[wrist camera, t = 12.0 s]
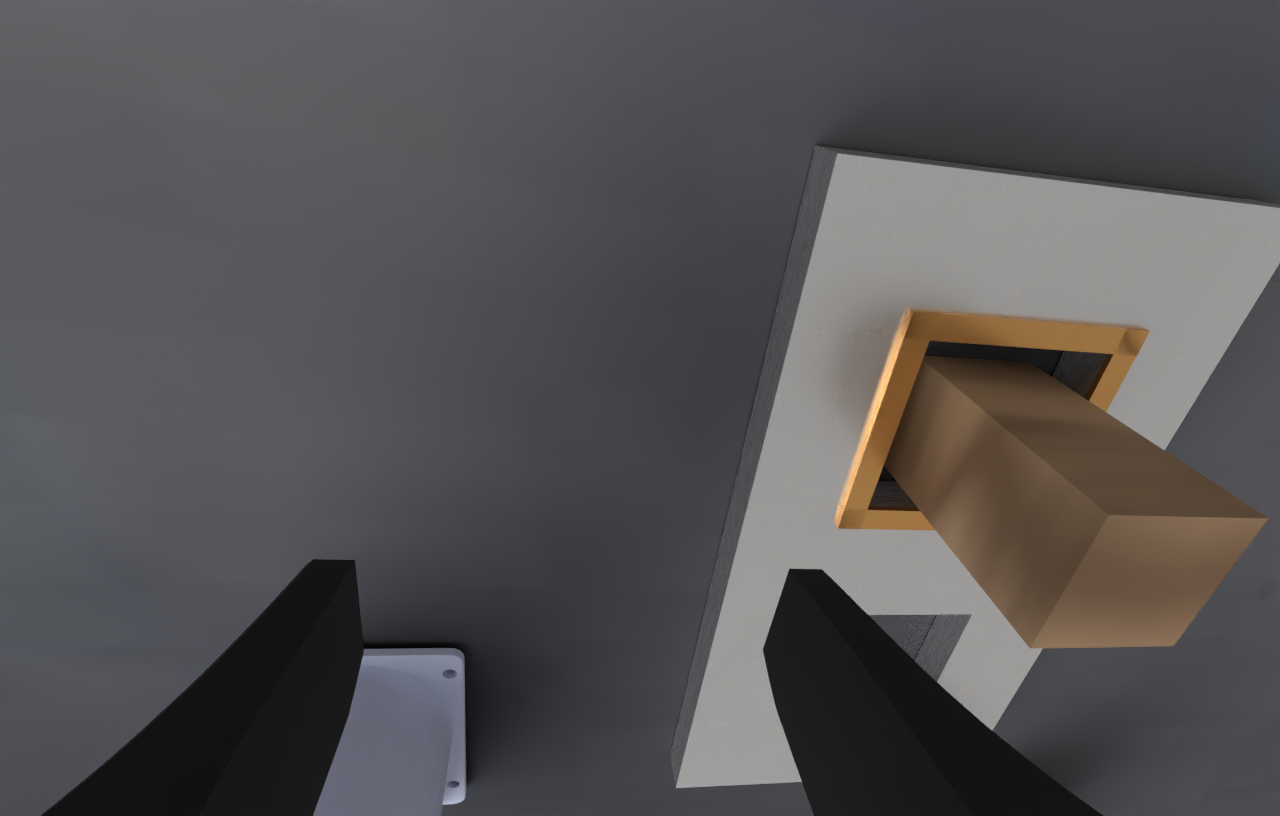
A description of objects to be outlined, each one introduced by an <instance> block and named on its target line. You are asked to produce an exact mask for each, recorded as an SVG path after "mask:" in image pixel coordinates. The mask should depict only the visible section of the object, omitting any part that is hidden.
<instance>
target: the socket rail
mask: <svg viewBox="0 0 1280 816" xmlns="http://www.w3.org/2000/svg"><path fill="white" fill-rule="evenodd" d="M1279 263H1280V205H1277V204H1272V203H1267V202H1263V201H1257V200H1249V199H1241V198H1233V197H1225V196H1217V195H1209V194H1201V193H1193V192H1185V191H1177V190H1169V189H1161V188H1153V187H1145V186H1137V185H1129V184H1121V183H1113V182H1105V181H1097V180H1089V179H1081V178H1073V177H1065V176H1057V175H1049V174H1041V173H1033V172H1025V171H1017V170H1009V169H1001V168H993V167H985V166H977V165H969V164H961V163H953V162H945V161H937V160H929V159H921V158H913V157H905V156H897V155H889V154H881V153H873V152H865V151H857V150H849V149H841V148H833V147H825V146H817V145H815V148H814V152H813V156H812V160H811V165H810V169H809V173H808V177H807V181H806V186H805V190H804V194H803V198H802V202H801V207H800V211H799V215H798V219H797V223H796V228H795V232H794V236H793V240H792V244H791V249H790V253H789V257H788V261H787V266H786V270H785V274H784V278H783V282H782V287H781V291H780V295H779V299H778V303H777V308H776V312H775V316H774V320H773V324H772V329H771V333H770V337H769V341H768V345H767V350H766V354H765V358H764V362H763V366H762V371H761V375H760V379H759V383H758V388H757V392H756V396H755V400H754V404H753V409H752V413H751V417H750V421H749V425H748V430H747V434H746V438H745V442H744V446H743V451H742V455H741V459H740V463H739V467H738V472H737V476H736V480H735V484H734V488H733V493H732V497H731V501H730V505H729V510H728V514H727V518H726V522H725V526H724V531H723V535H722V539H721V543H720V547H719V552H718V556H717V560H716V564H715V568H714V573H713V577H712V581H711V585H710V589H709V594H708V598H707V602H706V606H705V610H704V615H703V619H702V623H701V627H700V632H699V636H698V640H697V644H696V648H695V653H694V657H693V661H692V665H691V669H690V674H689V678H688V682H687V686H686V690H685V695H684V699H683V703H682V707H681V711H680V716H679V720H678V724H677V728H676V732H675V737H674V741H673V745H672V749H671V754H670V757H671V763H672V769H673V775H674V781H675V787H676V788H687V787H707V786H728V785H748V784H768V783H789V782H802V780H801V778H800V775H799V772H798V769H797V767H796V764H795V761H794V758H793V756H792V753H791V750H790V747H789V744H788V741H787V739H786V736H785V733H784V730H783V727H782V724H781V721H780V718H779V716H778V713H777V710H776V706H775V702H774V698H773V694H772V690H771V686H770V682H769V677H768V672H767V667H766V663H765V658H764V653H763V647H764V644H765V641H766V638H767V635H768V632H769V629H770V626H771V623H772V620H773V617H774V614H775V611H776V608H777V605H778V602H779V599H780V596H781V593H782V589H783V586H784V583H785V580H786V577H787V574H788V571H789V569H822V570H823V571H824V572H825V573H826V574H827V575H828V576H830V577H831V578H832V579H833V580H834V581H835V582H836V583H837V584H838V585H839V586H840V587H841V588H842V589H843V590H844V591H845V592H846V593H847V594H848V595H849V596H850V597H851V598H852V599H853V600H854V601H855V602H856V603H857V604H858V605H859V606H860V607H861V608H862V609H863V610H864V611H865V612H866V613H867V614H868V615H936V618H935V620H934V622H933V624H932V626H931V628H930V630H929V632H928V634H927V636H926V638H925V640H924V642H923V645H922V647H921V649H920V651H919V653H918V655H917V657H916V659H915V662H916V663H917V664H918V665H919V666H920V667H921V668H922V669H924V670H925V671H926V672H927V673H928V674H929V675H930V676H931V677H932V678H933V679H934V680H935V681H936V682H937V683H939V684H940V685H941V686H942V687H943V688H944V689H945V690H946V691H947V692H948V693H950V694H951V695H952V696H953V697H954V698H955V699H956V700H957V701H959V702H960V703H961V704H962V705H963V706H964V707H965V708H966V709H968V710H969V711H970V712H971V713H972V714H973V715H974V716H975V717H977V718H978V719H979V720H980V721H981V722H982V723H983V724H985V725H986V726H987V727H988V728H989V729H991V730H993V729H994V727H995V725H996V724H997V722H998V720H999V719H1000V717H1001V716H1002V714H1003V712H1004V711H1005V709H1006V707H1007V706H1008V704H1009V703H1010V701H1011V699H1012V698H1013V696H1014V694H1015V693H1016V691H1017V689H1018V688H1019V686H1020V685H1021V683H1022V681H1023V680H1024V678H1025V676H1026V675H1027V673H1028V672H1029V670H1030V668H1031V667H1032V665H1033V663H1034V662H1035V660H1036V659H1037V657H1038V655H1039V654H1040V652H1041V650H1042V649H1043V648H1029V647H1028V646H1027V644H1026V643H1025V642H1024V641H1023V639H1022V638H1021V637H1020V635H1019V634H1018V633H1017V632H1016V630H1015V629H1014V628H1013V627H1012V625H1011V624H1010V623H1009V622H1008V620H1007V619H1006V618H1005V617H1004V615H1003V614H1002V613H1001V612H1000V610H999V609H998V608H997V607H996V605H995V604H994V603H993V602H992V600H991V599H990V598H989V597H988V595H987V594H986V593H985V592H984V590H983V589H982V588H981V587H980V585H979V584H978V583H977V582H976V580H975V579H974V578H973V577H972V575H971V574H970V573H969V571H968V570H967V569H966V568H965V566H964V565H963V564H962V563H961V561H960V560H959V559H958V558H957V556H956V555H955V554H954V553H953V551H952V550H951V549H950V548H949V546H948V545H947V544H946V543H945V541H944V540H943V539H942V538H941V536H940V535H939V534H938V533H937V531H936V530H935V529H934V528H933V526H932V525H931V524H930V523H929V521H928V520H927V519H926V518H925V516H924V515H923V514H922V512H921V511H920V510H919V509H918V507H917V506H916V505H915V504H914V502H913V501H912V500H911V499H910V497H909V496H908V495H907V494H906V492H905V491H904V490H903V489H902V487H901V486H900V485H899V484H898V482H897V481H878V479H879V477H880V474H881V471H882V469H883V466H884V463H885V460H886V458H887V455H888V452H889V450H890V447H891V444H892V441H893V439H894V436H895V433H896V431H897V428H898V425H899V422H900V420H901V417H902V414H903V412H904V409H905V406H906V403H907V401H908V398H909V395H910V393H911V390H912V387H913V384H914V382H915V379H916V376H917V374H918V371H919V368H920V365H921V363H922V360H923V357H924V355H925V352H926V349H927V347H928V344H929V341H943V342H956V343H970V344H983V345H997V346H1010V347H1024V348H1037V349H1051V350H1064V352H1063V354H1062V356H1061V358H1060V360H1059V362H1058V364H1057V367H1056V369H1055V371H1054V373H1053V375H1052V377H1053V378H1054V379H1056V380H1057V381H1059V382H1060V383H1062V384H1064V385H1065V386H1067V387H1068V388H1070V389H1071V390H1073V391H1074V392H1076V393H1077V394H1079V395H1080V396H1082V397H1083V398H1085V399H1086V400H1088V401H1090V402H1091V403H1093V404H1094V405H1096V406H1097V407H1099V408H1100V409H1102V410H1103V411H1105V412H1106V413H1108V414H1109V415H1111V416H1112V417H1114V418H1116V419H1117V420H1119V421H1120V422H1122V423H1123V424H1125V425H1126V426H1128V427H1129V428H1131V429H1132V430H1134V431H1135V432H1137V433H1138V434H1140V435H1142V436H1143V437H1145V438H1146V439H1148V440H1149V441H1151V442H1152V443H1154V444H1155V445H1157V446H1158V447H1160V448H1161V449H1163V450H1165V449H1166V447H1167V445H1168V444H1169V442H1170V441H1171V439H1172V437H1173V436H1174V434H1175V432H1176V431H1177V429H1178V428H1179V426H1180V424H1181V423H1182V421H1183V419H1184V418H1185V416H1186V415H1187V413H1188V411H1189V410H1190V408H1191V406H1192V405H1193V403H1194V402H1195V400H1196V398H1197V397H1198V395H1199V393H1200V392H1201V390H1202V389H1203V387H1204V385H1205V384H1206V382H1207V380H1208V379H1209V377H1210V375H1211V374H1212V372H1213V371H1214V369H1215V367H1216V366H1217V364H1218V362H1219V361H1220V359H1221V358H1222V356H1223V354H1224V353H1225V351H1226V349H1227V348H1228V346H1229V345H1230V343H1231V341H1232V340H1233V338H1234V336H1235V335H1236V333H1237V332H1238V330H1239V328H1240V327H1241V325H1242V323H1243V322H1244V320H1245V319H1246V317H1247V315H1248V314H1249V312H1250V310H1251V309H1252V307H1253V306H1254V304H1255V302H1256V301H1257V299H1258V297H1259V296H1260V294H1261V293H1262V291H1263V289H1264V288H1265V286H1266V284H1267V283H1268V281H1269V280H1270V278H1271V276H1272V275H1273V273H1274V271H1275V270H1276V268H1277V266H1278V265H1279Z"/></svg>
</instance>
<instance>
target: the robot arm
mask: <svg viewBox="0 0 1280 816" xmlns="http://www.w3.org/2000/svg"><path fill="white" fill-rule="evenodd" d="M763 653H764V658H765V663H766V667H767V672H768V677H769V682H770V686H771V690H772V694H773V698H774V702H775V706H776V710H777V713H778V716H779V718H780V721H781V724H782V727H783V730H784V733H785V736H786V739H787V741H788V744H789V747H790V750H791V753H792V756H793V758H794V761H795V764H796V767H797V769H798V772H799V775H800V778H801V780H802V783H803V786H804V789H805V792H806V794H807V797H808V800H809V803H810V805H811V808H812V811H813V814H814V816H1103V815H1102V814H1100V813H1099V812H1097V811H1096V810H1095V809H1093V808H1092V807H1090V806H1089V805H1087V804H1086V803H1085V802H1083V801H1082V800H1080V799H1079V798H1078V797H1076V796H1075V795H1074V794H1072V793H1071V792H1069V791H1068V790H1067V789H1065V788H1064V787H1063V786H1061V785H1060V784H1059V783H1057V782H1056V781H1055V780H1053V779H1052V778H1051V777H1049V776H1048V775H1047V774H1045V773H1044V772H1043V771H1042V770H1040V769H1039V768H1038V767H1037V766H1035V765H1034V764H1033V763H1032V762H1030V761H1029V760H1028V759H1027V758H1025V757H1024V756H1023V755H1021V754H1020V753H1019V752H1018V751H1016V750H1015V749H1014V748H1013V747H1011V746H1010V745H1009V744H1008V743H1006V742H1005V741H1004V740H1003V739H1001V738H1000V737H999V736H998V735H997V734H995V733H994V732H993V731H992V730H991V729H989V728H988V727H987V726H986V725H985V724H983V723H982V722H981V721H980V720H979V719H978V718H977V717H975V716H974V715H973V714H972V713H971V712H970V711H969V710H968V709H966V708H965V707H964V706H963V705H962V704H961V703H960V702H959V701H957V700H956V699H955V698H954V697H953V696H952V695H951V694H950V693H948V692H947V691H946V690H945V689H944V688H943V687H942V686H941V685H940V684H939V683H937V682H936V681H935V680H934V679H933V678H932V677H931V676H930V675H929V674H928V673H927V672H926V671H925V670H924V669H922V668H921V667H920V666H919V665H918V664H917V663H916V662H915V661H914V660H913V659H912V658H911V657H910V656H909V655H908V654H907V653H906V652H905V651H904V650H903V649H902V648H901V647H900V646H899V645H898V644H897V643H896V642H895V641H894V640H893V639H892V638H891V637H890V636H889V635H888V634H887V633H886V632H884V631H883V630H882V628H881V627H880V626H879V625H878V624H877V623H876V622H875V621H874V620H873V619H872V618H871V617H870V616H869V615H868V614H867V613H866V612H865V611H864V610H863V609H862V608H861V607H860V606H859V605H858V604H857V603H856V602H855V601H854V600H853V599H852V598H851V597H850V596H849V595H848V594H847V593H846V592H845V591H844V590H843V589H842V588H841V587H840V586H839V585H838V584H837V583H836V582H835V581H834V580H833V579H832V578H831V577H830V576H828V575H827V574H826V573H825V572H824V571H823V570H822V569H789V571H788V574H787V577H786V580H785V583H784V586H783V589H782V593H781V596H780V599H779V602H778V605H777V608H776V611H775V614H774V617H773V620H772V623H771V626H770V629H769V632H768V635H767V638H766V641H765V644H764V647H763ZM449 669H451V670H449ZM465 796H466V726H465V657H464V654H463V653H462V652H461V651H460V650H458V649H456V648H402V649H364V647H363V637H362V627H361V617H360V607H359V597H358V587H357V576H356V566H355V560H317V559H313V560H312V561H311V562H309V563H308V564H307V565H306V566H305V567H304V568H303V569H302V570H301V571H300V572H299V573H298V575H297V576H296V577H295V578H294V579H293V580H292V581H291V582H290V583H289V584H288V586H287V587H286V588H285V589H284V590H283V591H282V592H281V593H280V594H279V595H278V596H277V598H276V599H275V600H274V601H273V602H272V603H271V604H270V605H269V606H268V607H267V608H266V609H265V610H264V611H263V613H262V614H261V615H260V616H259V617H258V618H257V619H256V620H255V621H254V622H253V623H252V624H251V625H250V626H249V627H248V628H247V629H246V630H245V631H244V633H243V634H242V635H241V636H240V637H239V638H238V639H237V640H236V641H235V642H234V643H233V644H232V645H231V646H230V647H229V648H228V649H227V650H226V651H225V652H224V653H223V654H222V655H221V656H220V657H219V658H218V659H217V660H216V661H215V662H214V663H213V664H212V665H211V666H210V667H209V668H208V669H207V670H206V671H205V672H204V673H203V674H202V675H201V676H200V677H199V678H198V679H196V680H195V681H194V682H193V683H192V684H191V685H190V686H189V687H188V688H187V689H186V690H185V691H184V692H183V693H182V694H181V695H179V696H178V697H177V698H176V699H175V700H174V701H173V702H172V703H171V704H170V705H169V706H168V707H166V708H165V709H164V710H163V711H162V712H161V713H160V714H159V715H158V716H157V717H156V718H155V719H154V720H152V721H151V722H150V723H149V724H148V725H147V726H146V727H145V728H144V729H143V730H142V731H141V732H139V733H138V734H137V735H136V736H135V737H134V738H133V739H132V740H130V741H129V742H128V743H127V744H126V745H125V746H124V747H122V748H121V749H120V750H119V751H118V752H117V753H116V754H114V755H113V756H112V757H111V758H110V759H109V760H107V761H106V762H105V763H104V764H103V765H102V766H100V767H99V768H98V769H97V770H96V771H95V772H93V773H92V774H91V775H90V776H89V777H87V778H86V779H85V780H84V781H83V782H81V783H80V784H79V785H78V786H76V787H75V788H74V789H73V790H72V791H70V792H69V793H68V794H67V795H65V796H64V797H63V798H62V799H61V800H59V801H58V802H57V803H56V804H55V805H53V806H52V807H51V808H50V809H48V810H47V811H46V812H45V813H43V814H42V815H41V816H441V812H442V805H443V804H456V803H459V802H462V801H463V800H464V799H465Z"/></svg>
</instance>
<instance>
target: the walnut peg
mask: <svg viewBox="0 0 1280 816" xmlns="http://www.w3.org/2000/svg"><path fill="white" fill-rule="evenodd" d="M884 466H885V467H886V469H887V470H888V471H889V472H890V474H891V475H892V476H893V477H894V479H895V480H896V481H897V482H898V484H899V485H900V486H901V487H902V489H903V490H904V491H905V492H906V494H907V495H908V496H909V497H910V499H911V500H912V501H913V502H914V504H915V505H916V506H917V507H918V509H919V510H920V511H921V512H922V514H923V515H924V516H925V518H926V519H927V520H928V521H929V523H930V524H931V525H932V526H933V528H934V529H935V530H936V531H937V533H938V534H939V535H940V536H941V538H942V539H943V540H944V541H945V543H946V544H947V545H948V546H949V548H950V549H951V550H952V551H953V553H954V554H955V555H956V556H957V558H958V559H959V560H960V561H961V563H962V564H963V565H964V566H965V568H966V569H967V570H968V571H969V573H970V574H971V575H972V577H973V578H974V579H975V580H976V582H977V583H978V584H979V585H980V587H981V588H982V589H983V590H984V592H985V593H986V594H987V595H988V597H989V598H990V599H991V600H992V602H993V603H994V604H995V605H996V607H997V608H998V609H999V610H1000V612H1001V613H1002V614H1003V615H1004V617H1005V618H1006V619H1007V620H1008V622H1009V623H1010V624H1011V625H1012V627H1013V628H1014V629H1015V630H1016V632H1017V633H1018V634H1019V635H1020V637H1021V638H1022V639H1023V641H1024V642H1025V643H1026V644H1027V646H1028V647H1029V648H1088V647H1147V646H1174V645H1175V643H1176V642H1177V641H1178V639H1179V638H1180V637H1181V635H1182V634H1183V632H1184V631H1185V630H1186V628H1187V627H1188V626H1189V624H1190V623H1191V622H1192V620H1193V619H1194V618H1195V616H1196V615H1197V614H1198V612H1199V611H1200V610H1201V608H1202V607H1203V606H1204V604H1205V603H1206V602H1207V600H1208V599H1209V598H1210V596H1211V595H1212V594H1213V592H1214V591H1215V590H1216V588H1217V587H1218V586H1219V584H1220V583H1221V582H1222V580H1223V579H1224V578H1225V576H1226V575H1227V574H1228V572H1229V571H1230V570H1231V568H1232V567H1233V565H1234V564H1235V563H1236V561H1237V560H1238V559H1239V557H1240V556H1241V555H1242V553H1243V552H1244V551H1245V549H1246V548H1247V547H1248V545H1249V544H1250V543H1251V541H1252V540H1253V539H1254V537H1255V536H1256V535H1257V533H1258V532H1259V531H1260V529H1261V528H1262V527H1263V525H1264V524H1265V523H1266V521H1267V520H1268V518H1267V517H1265V516H1264V515H1262V514H1261V513H1259V512H1258V511H1256V510H1255V509H1253V508H1252V507H1250V506H1249V505H1247V504H1246V503H1244V502H1242V501H1241V500H1239V499H1238V498H1236V497H1235V496H1233V495H1232V494H1230V493H1229V492H1227V491H1226V490H1224V489H1223V488H1221V487H1220V486H1218V485H1216V484H1215V483H1213V482H1212V481H1210V480H1209V479H1207V478H1206V477H1204V476H1203V475H1201V474H1200V473H1198V472H1197V471H1195V470H1194V469H1192V468H1190V467H1189V466H1187V465H1186V464H1184V463H1183V462H1181V461H1180V460H1178V459H1177V458H1175V457H1174V456H1172V455H1171V454H1169V453H1168V452H1166V451H1164V450H1163V449H1161V448H1160V447H1158V446H1157V445H1155V444H1154V443H1152V442H1151V441H1149V440H1148V439H1146V438H1145V437H1143V436H1142V435H1140V434H1138V433H1137V432H1135V431H1134V430H1132V429H1131V428H1129V427H1128V426H1126V425H1125V424H1123V423H1122V422H1120V421H1119V420H1117V419H1116V418H1114V417H1112V416H1111V415H1109V414H1108V413H1106V412H1105V411H1103V410H1102V409H1100V408H1099V407H1097V406H1096V405H1094V404H1093V403H1091V402H1090V401H1088V400H1086V399H1085V398H1083V397H1082V396H1080V395H1079V394H1077V393H1076V392H1074V391H1073V390H1071V389H1070V388H1068V387H1067V386H1065V385H1064V384H1062V383H1060V382H1059V381H1057V380H1056V379H1054V378H1053V377H1051V376H1050V375H1048V374H1047V373H1045V372H1044V371H1042V370H1041V369H1039V368H1038V367H1036V366H1034V365H1033V364H1031V363H1030V362H1018V361H1002V360H987V359H971V358H956V357H940V356H924V357H923V360H922V363H921V365H920V368H919V371H918V374H917V376H916V379H915V382H914V384H913V387H912V390H911V393H910V395H909V398H908V401H907V403H906V406H905V409H904V412H903V414H902V417H901V420H900V422H899V425H898V428H897V431H896V433H895V436H894V439H893V441H892V444H891V447H890V450H889V452H888V455H887V458H886V460H885V463H884Z"/></svg>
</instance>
